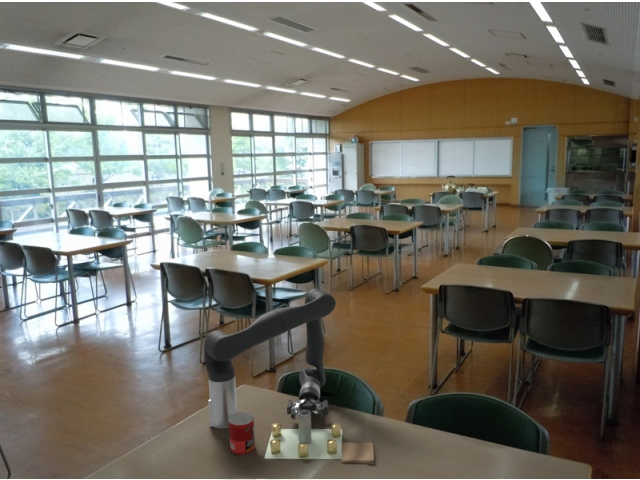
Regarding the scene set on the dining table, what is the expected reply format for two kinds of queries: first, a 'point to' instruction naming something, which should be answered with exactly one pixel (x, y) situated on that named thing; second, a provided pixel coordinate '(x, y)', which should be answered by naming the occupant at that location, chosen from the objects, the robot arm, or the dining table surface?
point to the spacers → (303, 445)
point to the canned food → (241, 433)
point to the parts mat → (315, 449)
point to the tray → (357, 453)
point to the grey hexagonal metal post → (304, 426)
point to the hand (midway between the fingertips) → (306, 417)
